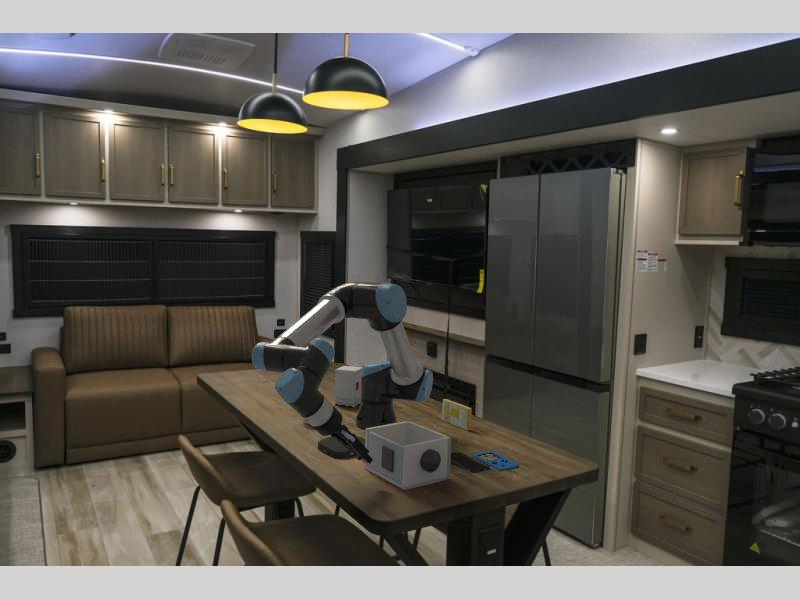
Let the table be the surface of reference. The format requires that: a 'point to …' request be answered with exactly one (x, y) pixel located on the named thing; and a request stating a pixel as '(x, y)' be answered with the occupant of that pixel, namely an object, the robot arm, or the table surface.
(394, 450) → the side door
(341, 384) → the supplement box
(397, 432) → the open box
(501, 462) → the handheld gaming device
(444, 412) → the candy box
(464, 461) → the phone
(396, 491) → the table surface
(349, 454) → the media streaming box
